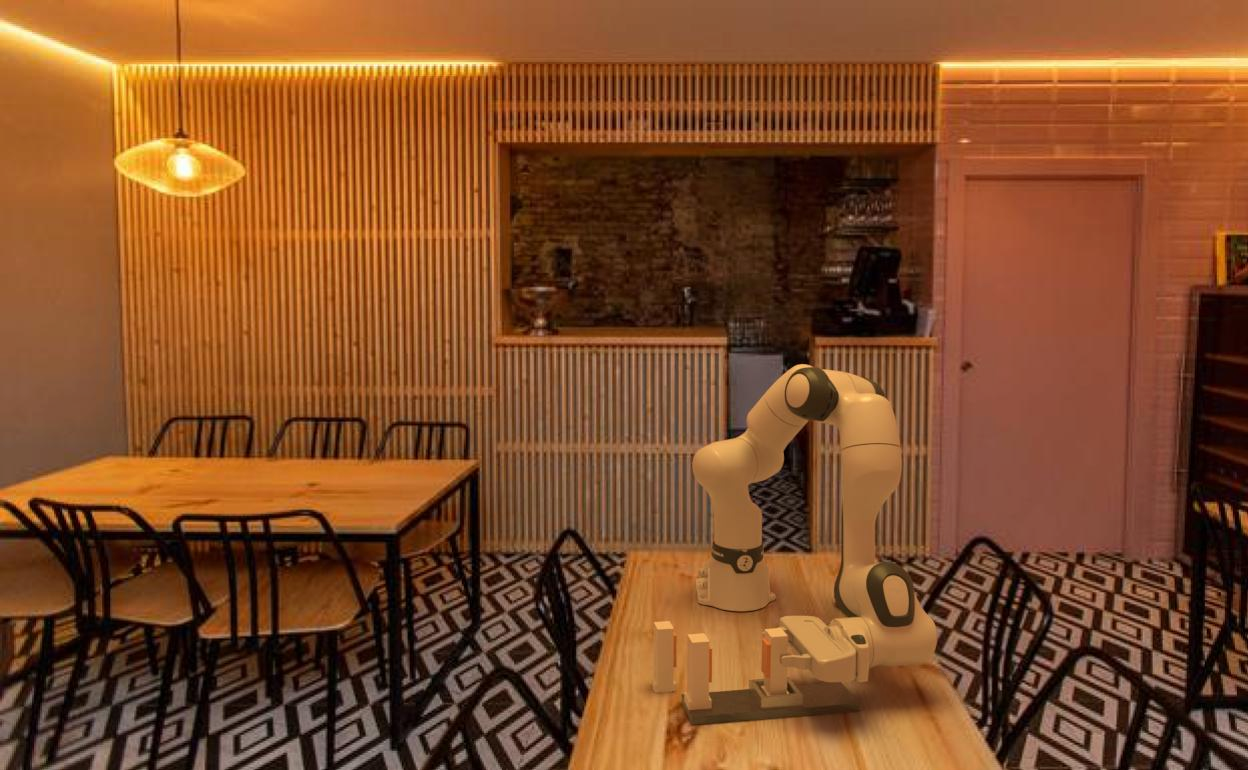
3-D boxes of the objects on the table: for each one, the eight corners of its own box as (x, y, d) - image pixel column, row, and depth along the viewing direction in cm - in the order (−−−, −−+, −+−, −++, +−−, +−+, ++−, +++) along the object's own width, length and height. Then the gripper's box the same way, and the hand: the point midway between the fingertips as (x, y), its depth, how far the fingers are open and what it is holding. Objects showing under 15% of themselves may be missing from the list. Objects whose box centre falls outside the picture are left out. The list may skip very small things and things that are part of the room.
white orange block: (651, 684, 155) (651, 622, 154) (672, 682, 156) (672, 620, 155) (654, 693, 152) (654, 629, 151) (676, 691, 153) (677, 628, 151)
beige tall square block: (760, 694, 148) (761, 629, 147) (782, 692, 149) (783, 627, 148) (766, 703, 145) (768, 637, 144) (789, 701, 145) (790, 635, 144)
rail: (681, 702, 148) (681, 683, 148) (840, 689, 153) (841, 671, 153) (691, 725, 141) (692, 705, 140) (859, 711, 145) (860, 692, 145)
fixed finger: (684, 700, 146) (684, 634, 145) (706, 698, 147) (707, 633, 145) (688, 710, 143) (689, 642, 141) (712, 708, 143) (712, 641, 142)
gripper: (824, 604, 158) (753, 609, 156) (872, 650, 138) (792, 656, 135) (823, 637, 158) (753, 641, 156) (871, 686, 138) (791, 693, 136)
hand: (771, 648), depth 146 cm, fingers open, 8 cm apart
